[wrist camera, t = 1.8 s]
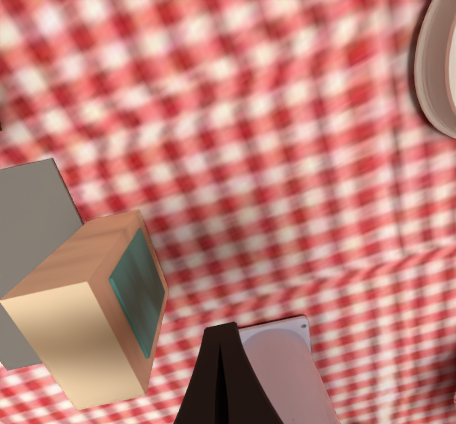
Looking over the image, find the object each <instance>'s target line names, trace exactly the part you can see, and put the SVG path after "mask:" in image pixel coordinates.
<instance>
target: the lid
mask: <svg viewBox="0 0 456 424" xmlns="http://www.w3.org/2000/svg"><path fill="white" fill-rule="evenodd" d="M414 79H415V88H416V93H417V97H418V100H419V103H420V106H421V108H422V110H423V112H424V114H425V115H426V117H427V119H428V120H429V121H430V122H431V123H432V125H433V126H434V127H436V128H437V129H438V130H439V131H441V132H442V133H444V134H446V135H448V136H449V137H452V138H455V139H456V0H432V2H431V4H430V6H429V8H428V11H427V13H426V16H425V18H424V21H423V24H422V27H421V30H420V34H419V37H418V42H417V47H416V52H415V63H414Z"/></svg>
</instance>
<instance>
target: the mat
mask: <svg viewBox="0 0 456 424" xmlns="http://www.w3.org/2000/svg"><path fill="white" fill-rule="evenodd" d="M83 225H84V224H83V221H82V219H81V217H80V215H79V213H78V211H77V209H76V207H75V205H74V202H73V200H72V198H71V196H70V194H69V192H68V190H67V188H66V185H65V183H64V181H63V179H62V177H61V175H60V173H59V171H58V168H57V166H56V164H55V162H54V160H53V158H52V159H47V160H43V161H38V162H34V163H29V164H25V165H20V166H16V167H11V168H6V169H2V170H0V299H2V298H3V297H4V296H5V295H6V294H7V293H8V292H9V291H11V290H12V289H13V288H14V287H15V286H16V285H17V284H18V283H19V282H21V281H22V280H23V279H24V278H25V277H26V276H27V275H28V274H30V273H31V272H32V271H33V270H34V269H35V268H36V267H37V266H38V265H40V264H41V263H42V262H43V261H44V260H45V259H46V258H47V257H49V256H50V255H51V254H52V253H53V252H54V251H55V250H56V249H57V248H59V247H60V246H61V245H62V244H63V243H64V242H65V241H66V240H68V239H69V238H70V237H71V236H72V235H73V234H74V233H75V232H77V231H78V230H79V229H80V228H81V227H82V226H83ZM0 362H1V363H2V364H3V366H4V367H5V368H6V369H7V371H8V370H13V369H17V368H22V367H27V366H31V365H36V364H41V363H43V362H42V361H41V359H40V358H39V356H38V355H37V354H36V352H35V351H34V349H33V348H32V347H31V345H30V344H29V342H28V341H27V339H26V338H25V337H24V335H23V334H22V332H21V331H20V330H19V328H18V327H17V325H16V324H15V323H14V321H13V320H12V318H11V317H10V315H9V314H8V313H7V311H6V310H5V308H4V307H3V306H2V304H1V303H0Z"/></svg>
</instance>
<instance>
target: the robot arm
mask: <svg viewBox="0 0 456 424" xmlns="http://www.w3.org/2000/svg"><path fill="white" fill-rule="evenodd" d="M303 324H304V325H303ZM174 424H340V422H339V419H338V417H337V415H336V412H335V410H334V407H333V405H332V403H331V400H330V398H329V396H328V393H327V391H326V389H325V386H324V384H323V382H322V379H321V377H320V375H319V372H318V370H317V368H316V365H315V363H314V360H313V358H312V352H311V343H310V333H309V324H308V319H307V317H306V316H299V317H294V318H289V319H285V320H280V321H275V322H271V323H266V324H261V325H257V326H252V327H247V328H243V329H238V326H237V323H235V322H230V323H226V324H221V325H217V326H212V327H207V328H206V329H205V330H204V335H203V339H202V343H201V347H200V351H199V355H198V358H197V361H196V365H195V368H194V371H193V374H192V377H191V380H190V383H189V386H188V388H187V391H186V394H185V396H184V399H183V402H182V404H181V407H180V409H179V412H178V414H177V416H176V419H175V421H174Z"/></svg>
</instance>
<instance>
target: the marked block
mask: <svg viewBox="0 0 456 424" xmlns="http://www.w3.org/2000/svg"><path fill="white" fill-rule="evenodd" d="M168 293H169V289H168V286H167V283H166V281H165V278H164V275H163V272H162V270H161V267H160V264H159V262H158V259H157V256H156V253H155V251H154V248H153V245H152V243H151V240H150V237H149V234H148V232H147V229H146V226H145V223H144V221H143V218H142V215H141V213H140V210H139V209H138V210H133V211H129V212H124V213H120V214H115V215H110V216H106V217H101V218H97V219H92V220H89V221H88V222H87V223H85V224H84V225H83V226H82V227H81V228H80V229H79V230H78V231H77V232H75V233H74V234H73V235H72V236H71V237H70V238H69V239H68V240H66V241H65V242H64V243H63V244H62V245H61V246H60V247H59V248H57V249H56V250H55V251H54V252H53V253H52V254H51V255H50V256H49V257H47V258H46V259H45V260H44V261H43V262H42V263H41V264H40V265H38V266H37V267H36V268H35V269H34V270H33V271H32V272H31V273H30V274H28V275H27V276H26V277H25V278H24V279H23V280H22V281H21V282H19V283H18V284H17V285H16V286H15V287H14V288H13V289H12V290H11V291H9V292H8V293H7V294H6V295H5V296H4V297H3V298H2V299H0V303H1V304H2V306H3V307H4V308H5V310H6V311H7V313H8V314H9V315H10V317H11V318H12V320H13V321H14V323H15V324H16V325H17V327H18V328H19V330H20V331H21V332H22V334H23V335H24V337H25V338H26V339H27V341H28V342H29V344H30V345H31V347H32V348H33V349H34V351H35V352H36V354H37V355H38V356H39V358H40V359H41V361H42V362H43V364H44V365H45V366H46V368H47V369H48V371H49V372H50V373H51V375H52V376H53V378H54V379H55V380H56V382H57V383H58V385H59V386H60V388H61V389H62V390H63V392H64V393H65V395H66V396H67V397H68V399H69V400H70V402H71V403H72V405H73V406H74V407H75V409H76V410H80V409H85V408H90V407H94V406H99V405H104V404H108V403H113V402H118V401H122V400H127V399H131V398H136V397H141V396H145V395H146V392H147V388H148V383H149V379H150V374H151V370H152V365H153V361H154V356H155V352H156V347H157V343H158V338H159V333H160V329H161V324H162V320H163V315H164V311H165V306H166V302H167V297H168Z"/></svg>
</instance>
